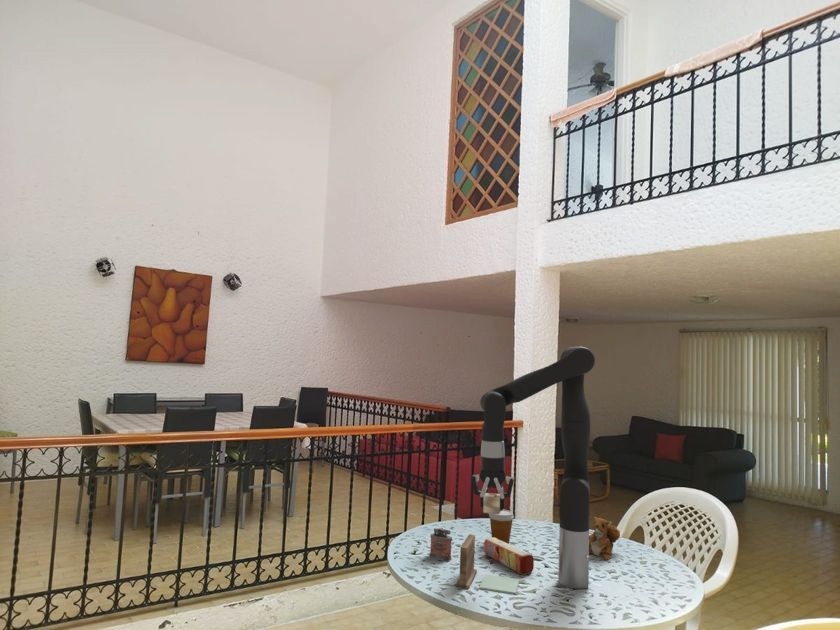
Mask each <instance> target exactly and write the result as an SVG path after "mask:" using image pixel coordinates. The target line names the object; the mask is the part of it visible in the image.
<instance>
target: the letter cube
mask: <svg viewBox="0 0 840 630" xmlns="http://www.w3.org/2000/svg"><path fill="white" fill-rule="evenodd" d="M500 498H501V497H500V494H499V493H491V492H490V493H489V492H486V493H485V495H484V499H483V509H482V510H483V511H482V512H483V514H490V513H492V514H500V512H501V511H500Z"/></svg>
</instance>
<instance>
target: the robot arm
mask: <svg viewBox="0 0 840 630" xmlns="http://www.w3.org/2000/svg"><path fill="white" fill-rule="evenodd" d="M595 358H596V357H595V355H594V353H593V351H592V350H591V349H589V348H587V347H585V346H570V347H567V348H565V349H564V350H563V352H562V353H561V355H560V359H559V360H557V361H555V362H554V363H551V364H550V365H547V366H544V367H542V368H540V369H537V370H534V371H531V372H528V373H526V374H524V375H521V376H519V377H518V378H515V379H514V380H513V379H512V380H511V381H510V382H508V383H506V384H504V385H501V386H499V387H496V388H494V389H490V390H489V391H487V392H485V393H484V394H483V395H482V397H481V399H480V406H481V409H482V410H483V411H484V413H483V415H484V421H483V423H482V426H481V444H480V445H481V446H480V472H479V474H472V475H471V477H470V479H471V483H472V488H473V493H474V495H475V496H479V499H480V500H479V501H480V507H481V508H482V510H483V499H484V495H485V494H486V493H487V490H488V488H490V489H491V488H494V489H496V490H497V492H498V494H500V497H501V498H500V511H502V510H503V509H504V510H505V507H506V499H507V498H510V497H511V495H512V491H513V486H514V483H515V477H514V476H511V477H510V476H508V475H507V474H506V470H505V467H506V464H505V463H506V461H505V458H506V455H505V452H506V451H505V430H504V428H505V427H504V426H505V425H504V424H505V422H506V421H505V419H506V412H507V411H506V410H507V407H508V406H510V405H512V404H516V403H517V404H518V403H520V402H523V401H524V400H526V399H529V398H530V397H533V396H534V395H536V394H538V393H540V392H542V391H544V390H546V389H548V388H550V387H552V386H553V385H556V384H558V383H560V382H561V388H562V389H561V390H562V392H561V416H560V417H561V420H560V433H561V444H562V449H563V456H564V461H563V462H564V467H563V475H562V476H563V477H562V481H561V486H560V488H559V493H558V494H559V496H558V497H559V499H558V506H559V507H558V510H559V511H558V519H559V528H558V529H559V530H558V531H559V532H558V533H559V535H558V536H559V537H558V539H559V540H558V574H557V575H558V576H557V577H558V579H557V580H558V581H557V582H558V583H559V584H561V586H564V587H566V588H570V589H580V590H581V589H589V586H590V585H589V579H590V578H589V577H590V574H589V573H590V567H589V566H590V554H589V536H590V500H591V499H590V497H591V486H590V480H589V471H588V470H589V469H588V468H589V467H588V460H589V459H588V458H589V452H590V451H589V449H590V439H591V414H590V413H591V412H590V409H589V405H588V401H587V397H586V395H585V394H586V393H585V384H584V382H585V375H586V374H588V373H590V372H591V371H592V370H593V368H594V367H595V362H596V359H595ZM479 480H481V482H482V483H483V486H482V488H481V490H480V487H479V484H478V482H479ZM505 480H506V484H507V490H506V492H505V491H504V487H503V483H504V481H505Z"/></svg>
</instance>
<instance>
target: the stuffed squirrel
mask: <svg viewBox="0 0 840 630" xmlns="http://www.w3.org/2000/svg"><path fill="white" fill-rule="evenodd" d="M589 530H591V531H592V532H593V533H591V534H589V555H592V554H593V555H595V556H598V557H601V559H604V560H605V561H607V560H610V559H611V558H612V557H613V552H612V551H613V549H614V543H616V542H617V541H618V540H619V539H621V537H620V536H621V530H619V529H618V528H617V527H616V526H615V525H612V521H607V519H603V518H601V517H596V516H594V522H593V525H592V526H591V527H589Z"/></svg>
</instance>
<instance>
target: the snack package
mask: <svg viewBox="0 0 840 630" xmlns="http://www.w3.org/2000/svg"><path fill="white" fill-rule="evenodd" d="M483 552H484V555H485V556H488V558H492V559H493V560H495V561H496V562H499V563H500V564H502V565H503V566H505V567H507V568H509V569H511V570H513V571H515V572H517V573H518V574H519V575H523V576H524V575H527V574H528V575H529V574H531V573H532V572H533V571H534V567H535V566H534V565H535V564H534V563H535V562H534V561H535V559H534V555H533V554H532V553H530V552H527V551H526V550H523V549H521V548H519V547H516V546H514V545H512V544H510V543H509V544H508V543H505V542H503V541H501V540H498V539H497V538H495V537H492V536H491V537H488V538H486V539H485V540H484V542H483Z"/></svg>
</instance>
